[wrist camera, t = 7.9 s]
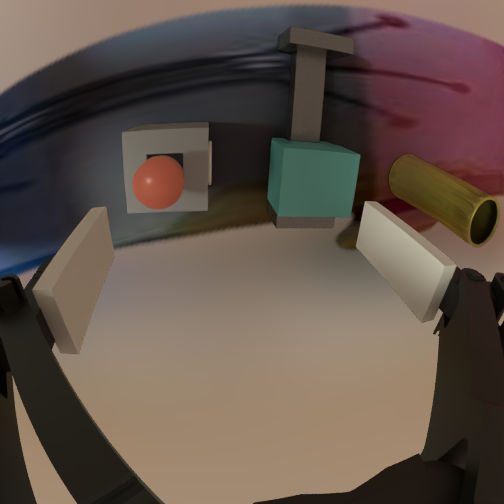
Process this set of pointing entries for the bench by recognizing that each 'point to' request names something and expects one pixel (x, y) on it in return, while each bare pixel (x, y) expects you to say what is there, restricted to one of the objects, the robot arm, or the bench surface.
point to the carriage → (311, 179)
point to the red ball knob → (159, 182)
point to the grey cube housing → (177, 147)
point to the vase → (445, 199)
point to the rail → (307, 98)
